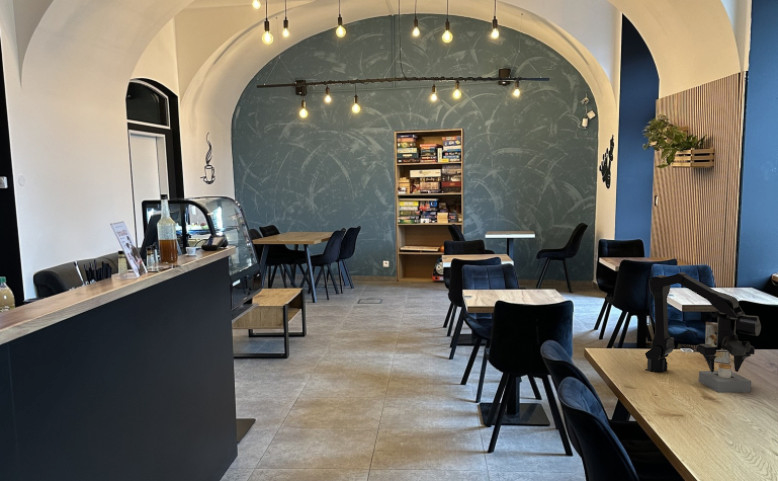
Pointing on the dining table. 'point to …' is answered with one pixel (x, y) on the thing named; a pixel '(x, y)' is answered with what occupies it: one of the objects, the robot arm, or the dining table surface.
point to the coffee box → (712, 337)
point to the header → (724, 382)
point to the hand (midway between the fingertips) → (724, 371)
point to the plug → (724, 370)
